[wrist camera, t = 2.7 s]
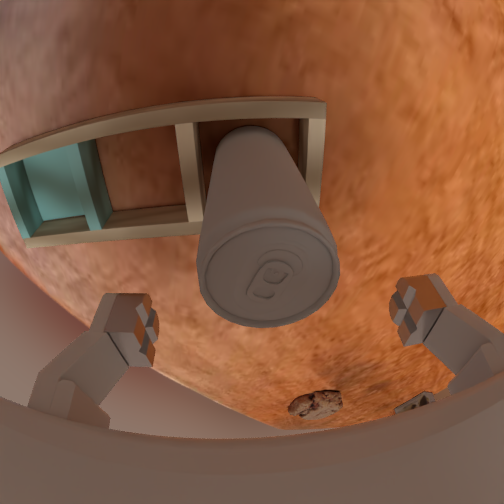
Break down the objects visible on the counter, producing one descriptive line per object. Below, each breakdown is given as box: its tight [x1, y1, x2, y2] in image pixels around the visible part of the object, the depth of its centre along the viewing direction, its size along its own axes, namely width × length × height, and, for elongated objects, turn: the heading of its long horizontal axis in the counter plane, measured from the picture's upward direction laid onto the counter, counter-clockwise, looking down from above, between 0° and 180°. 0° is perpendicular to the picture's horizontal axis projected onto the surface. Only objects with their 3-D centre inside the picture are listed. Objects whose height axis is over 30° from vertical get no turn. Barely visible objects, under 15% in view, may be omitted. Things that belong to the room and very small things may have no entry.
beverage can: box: [196, 126, 340, 328], centre depth 14 cm, size 5×5×12 cm
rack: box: [0, 96, 327, 248], centre depth 17 cm, size 8×24×2 cm, turn 92°
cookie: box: [288, 391, 343, 420], centre depth 44 cm, size 10×11×3 cm
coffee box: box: [395, 392, 435, 414], centre depth 48 cm, size 9×6×16 cm
